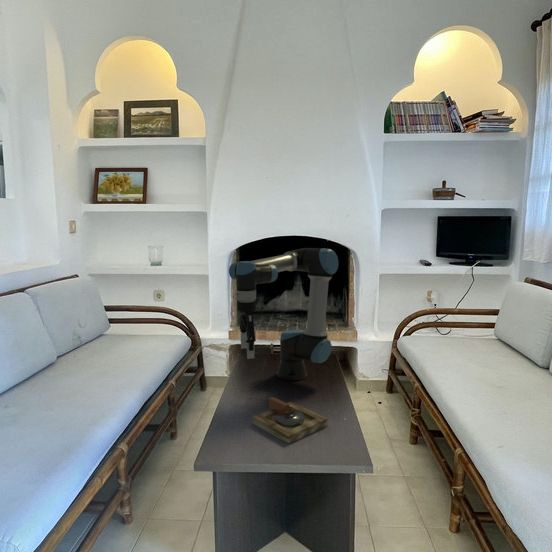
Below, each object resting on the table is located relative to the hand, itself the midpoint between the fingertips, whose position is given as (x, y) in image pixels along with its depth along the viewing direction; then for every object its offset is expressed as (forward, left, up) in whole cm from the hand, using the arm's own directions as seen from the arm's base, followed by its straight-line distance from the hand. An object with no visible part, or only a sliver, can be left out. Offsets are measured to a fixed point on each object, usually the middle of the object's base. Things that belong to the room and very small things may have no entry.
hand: (247, 353), depth 166 cm
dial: (-5, +17, -22) cm, 28 cm away
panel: (-5, +20, -24) cm, 32 cm away
